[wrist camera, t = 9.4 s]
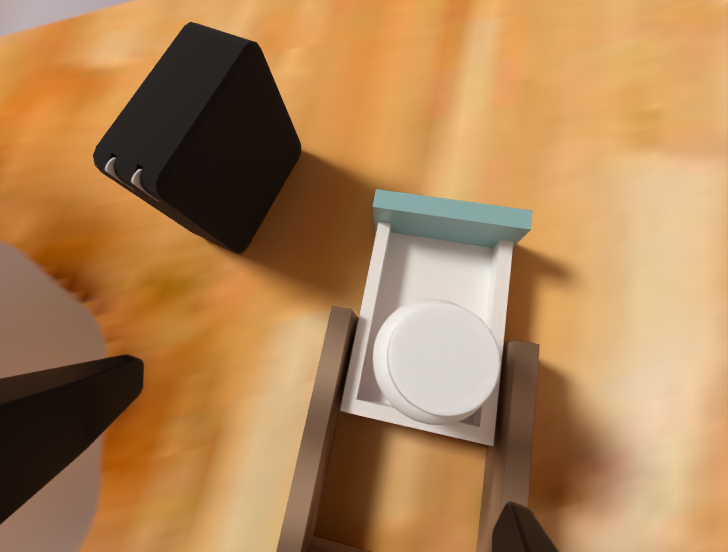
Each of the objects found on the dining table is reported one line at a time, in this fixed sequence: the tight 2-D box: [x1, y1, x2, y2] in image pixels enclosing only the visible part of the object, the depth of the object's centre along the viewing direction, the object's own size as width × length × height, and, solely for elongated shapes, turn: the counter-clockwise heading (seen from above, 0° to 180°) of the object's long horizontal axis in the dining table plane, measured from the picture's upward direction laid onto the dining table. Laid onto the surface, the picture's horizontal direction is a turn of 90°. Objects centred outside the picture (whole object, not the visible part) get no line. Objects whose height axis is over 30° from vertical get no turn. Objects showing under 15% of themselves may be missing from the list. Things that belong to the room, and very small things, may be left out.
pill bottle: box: [373, 299, 501, 425], centre depth 17 cm, size 5×5×10 cm
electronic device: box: [93, 22, 301, 254], centre depth 22 cm, size 4×10×10 cm, turn 154°
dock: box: [277, 306, 539, 552], centre depth 19 cm, size 14×12×4 cm
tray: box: [340, 189, 532, 446], centre depth 21 cm, size 13×9×4 cm
